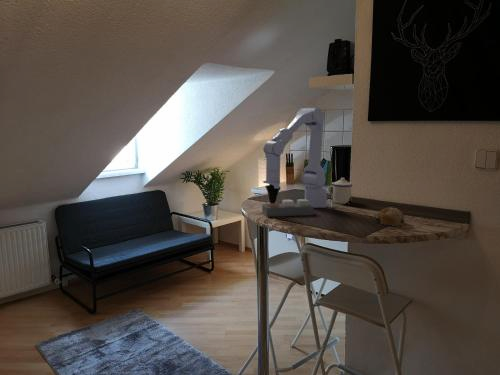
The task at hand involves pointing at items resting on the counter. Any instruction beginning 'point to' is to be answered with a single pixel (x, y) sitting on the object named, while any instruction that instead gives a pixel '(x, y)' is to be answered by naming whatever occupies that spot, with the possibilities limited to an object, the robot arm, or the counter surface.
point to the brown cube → (272, 204)
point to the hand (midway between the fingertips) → (272, 202)
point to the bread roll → (390, 217)
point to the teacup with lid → (341, 191)
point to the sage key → (302, 202)
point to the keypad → (287, 210)
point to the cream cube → (287, 203)
